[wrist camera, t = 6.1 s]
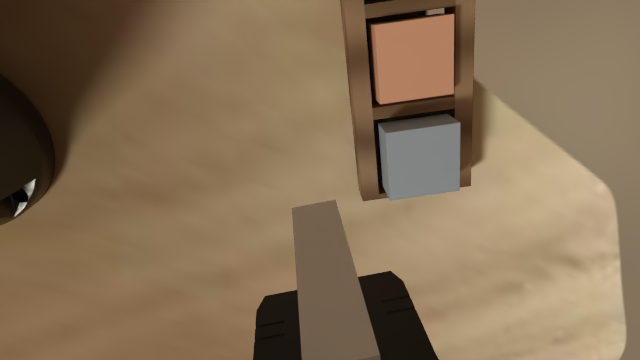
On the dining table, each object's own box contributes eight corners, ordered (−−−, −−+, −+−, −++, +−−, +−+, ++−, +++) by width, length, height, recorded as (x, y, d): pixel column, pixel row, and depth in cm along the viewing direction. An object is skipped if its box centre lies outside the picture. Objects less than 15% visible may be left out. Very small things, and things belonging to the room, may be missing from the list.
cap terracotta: (373, 96, 35) (380, 104, 32) (367, 23, 33) (374, 25, 30) (441, 87, 35) (453, 93, 32) (440, 13, 33) (454, 14, 30)
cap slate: (382, 186, 37) (389, 200, 34) (378, 123, 34) (385, 133, 32) (447, 176, 37) (459, 190, 34) (447, 113, 35) (460, 122, 32)
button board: (460, 175, 39) (470, 185, 37) (359, 189, 39) (363, 201, 37) (464, -122, 30) (478, -133, 27) (330, -103, 30) (333, -112, 27)
